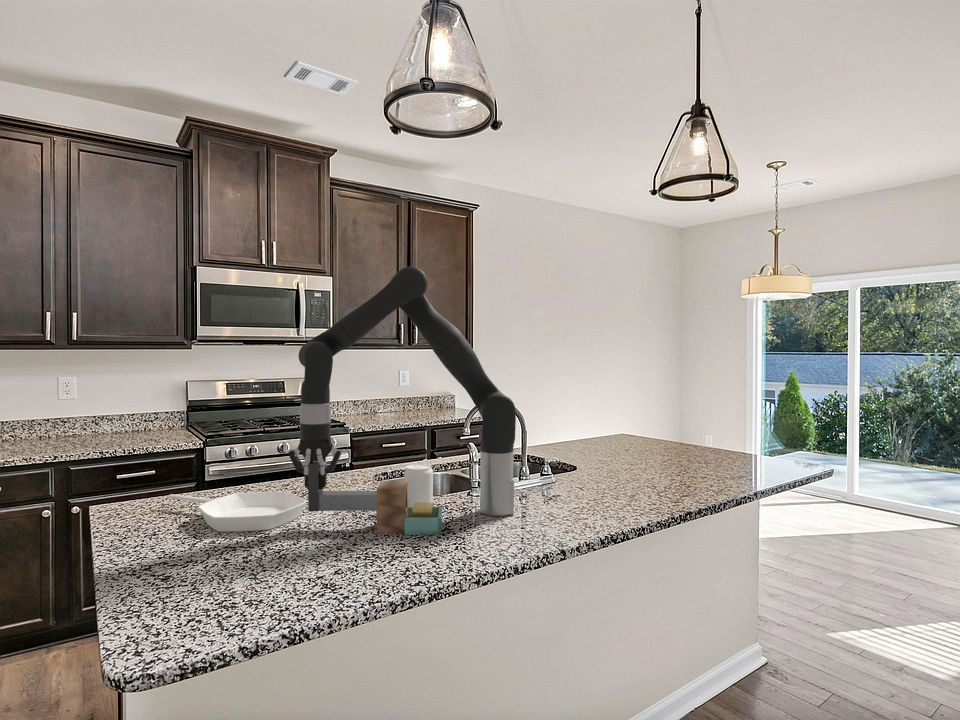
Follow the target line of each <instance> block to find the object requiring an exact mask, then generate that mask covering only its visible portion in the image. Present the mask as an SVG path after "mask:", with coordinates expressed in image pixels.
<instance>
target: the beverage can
mask: <svg viewBox="0 0 960 720" xmlns="http://www.w3.org/2000/svg"><path fill="white" fill-rule="evenodd" d="M403 474H404V478H403V479H404V480H403V481H408V506H413V505H414V503H415V502H416V503H434V470H433V468H432V465H429V464H424V463H423V464H422V463H417V464H416V463H415V464H413V463H412V464H409V465H406V467H405V469H404V473H403Z"/></svg>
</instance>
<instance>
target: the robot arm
mask: <svg viewBox="0 0 960 720" xmlns="http://www.w3.org/2000/svg"><path fill="white" fill-rule="evenodd" d="M428 283H429V282H428V277H427V275H426V274H425V272H424V271H423V270H422V269H420V267H416V266H406V267H403V268H401V269H399V270H398V271H397V272H396V273H394V275H393V277H391V279H390V280H389V282H388V283H387V284H386V285H385V286H384V287H382V289H381V290H379V292H377V293H375V295H374V296H372V297H371V298H370V299H368V300H366V301H365V302H364V303H362V304H361V305H359V306H358V307H357V308H355V309H353V310H352V311H350V312H349V313H348V314H346V315H345V316H343V317H342V318H341V319H340V320H338V321H337V322H336V323H334V324H333V325H332V326H330V327H329V328H328V329H327V330H325V331H323V332H322V333H320V334H318V335H316V336H315V337H312V339H310V340H308V341H307V342H305V344H303V345H302V347H300V349H299V351H298V360H299V363H300V365H302V366H303V367H304V377H303V378H304V379H303V382H302V383H301V387H300V409H299V443H298V446H297V447H296V448H293V449H290V450H289V451H288V452H287V455H288V457H289V458H290V461H291V463H292V465H293V467H294V469H295V470H296V472H297V473H298V474H303V475H304V487H305V488H306V490H307V491H308V463H310V462H312V461H318V463H319V467H320V474H321V475H320V490H323V491H324V489H325V488H326V486H327V483H328V482H327V481H328V480H327V479H328V478H327V476H328V474H329V473H332V472H333V471H334V470H335V468H336V466H337V464H338V462H339V460H340V458H341V456H342V454H343V450H342V449H341V448H339V449H338V448H336V447H334V446H333V445H334V444H333V442H332V430H331V429H332V428H331V427H332V425H331V423H332V422H331V421H332V413H331V412H332V411H331V403H330V402H331V397H330V394H331V390H330V389H331V388H330V384H331V378H332V373H333V365H334V358H333V357H334V356H335V355H337V354H338V353H340V352H341V351H345V350H347V349H349V348H351V347H352V346H353V345H355V344H356V343H357V342H359V341H360V340H361V339H362V338H364V337H365V336H366V335H367V334H369V333H370V332H371V331H372V330H373V329H374V328H375V327H377V326H378V324H380V323H381V322H382V321H383V320H384V319H386V318H387V317H388V316H390V315H391V313H393V312H395V311H396V310H397V309H401V310H402V312H403V313H405V315H406V316H407V317H408V318H409V319H410V320H411V321H412V323H413V324H414V325H415V327H416V329H418V331H419V332H420V334H421V336H422V337H423V339H424V340H425V342H427V344H428V345H429V346H430V348H431V350H432V351H433V352H434V354H435V355H436V357H437V358H438V360H440V362H441V363H442V365H443V366H444V367H445V368H446V370H447V372H449V373H450V375H451V376H452V377H453V378H454V379H455V380H456V381H457V382H458V383H459V384H460V385H461V386H462V387H463V389H464V390H465V391H466V392H467V394H468V395H469V397H470V399H471V400H472V402H473V404H474V406H475V407H476V409H477V410H478V413H479V415H480V416H481V418H482V427H481V428H482V429H481V432H482V433H481V440H480V458H479V459H480V465H479V466H480V471H479V472H480V473H479V474H480V476H479V477H480V478H479V479H480V481H479V482H480V483H479V485H480V486H479V487H480V488H479V512H480V513H481V514H483V515H485V516H489V517H490V516H491V517H500V516H501V517H503V516H509V515H514V514H515V480H514V445H515V443H516V442H515V441H516V427H517V426H516V424H517V420H516V419H517V414H516V407H515V403H514V402H513V400H512V399H511V398H510V397H508V396H507V395H505V394H504V393H502V391H500V390H499V388H498V387H497V386H496V385H495V384H494V382H493V381H492V380H491V379H490V377H488V375H487V373H486V372H485V370H484V368H483V366H482V364H481V362H480V360H479V357H478V356H477V354H476V352H475V350H474V349H473V347H472V346H471V344H470V343H469V341H468V340H467V339H466V337H465V336H464V335H463V333H462V332H461V331H460V330H459V329H458V328H457V326H455V325H454V324H453V323H452V322H450V321H449V320H448V319H446V318H445V317H444V316H443V315H441V314H440V313H439V312H438V311H437V310H436V309H435V308H434V307H433V305H432V303H430V301H429V299H428V298H427V297H426V295H425V294H426V292H427V289H428ZM330 453H331V457H333V458H332V460H331V462H330V464H329V466H327V457H328V455H329V454H330ZM300 454H301V455H302V456H303V458H304V465H303V463H302V461H301V459H300V457H299V456H300Z"/></svg>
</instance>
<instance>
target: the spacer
mask: <svg viewBox="0 0 960 720" xmlns="http://www.w3.org/2000/svg"><path fill="white" fill-rule="evenodd" d="M434 506H435V502H433V503H416V502H415V503H414V505H413V507H412V518H434Z"/></svg>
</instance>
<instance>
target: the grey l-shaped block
mask: <svg viewBox="0 0 960 720" xmlns="http://www.w3.org/2000/svg"><path fill="white" fill-rule="evenodd" d="M320 475H321V474H320V467H319V463H318V461H312V462H310V463H308V490H307V494H308V495H307V497H308V498H307V499H308V500H307V508H308V509H307V512H335V511H336V512H346V511H347V512H349V511H351V512H354V511H355V512H357V511H358V512H364V511H365V512H366V511H367V512H370V511H371V512H373V511H375V512H377V490H324V489H323V490H320Z"/></svg>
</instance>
